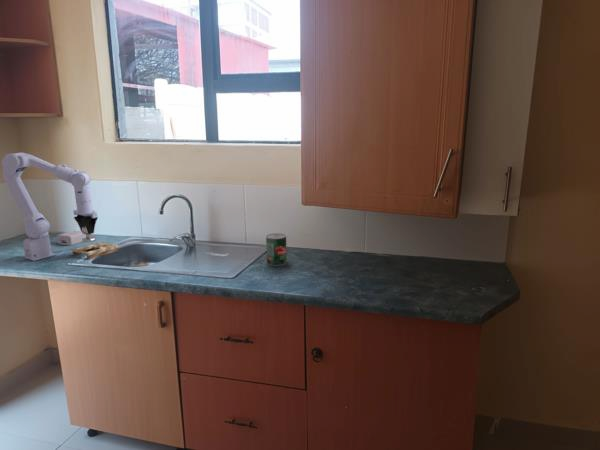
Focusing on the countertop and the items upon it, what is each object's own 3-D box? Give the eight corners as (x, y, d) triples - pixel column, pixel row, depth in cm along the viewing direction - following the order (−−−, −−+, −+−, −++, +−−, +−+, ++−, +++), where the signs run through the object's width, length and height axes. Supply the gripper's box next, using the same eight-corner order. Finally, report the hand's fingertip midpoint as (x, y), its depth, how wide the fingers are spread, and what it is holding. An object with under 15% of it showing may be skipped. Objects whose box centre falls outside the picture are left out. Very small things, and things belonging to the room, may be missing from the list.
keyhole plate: (88, 259, 184) (88, 253, 183) (72, 254, 190) (72, 249, 190) (118, 250, 195) (118, 245, 194) (102, 247, 201) (102, 241, 201)
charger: (97, 238, 218) (71, 246, 205) (84, 236, 222) (57, 244, 208) (96, 228, 217) (70, 236, 204) (82, 227, 220) (56, 234, 207)
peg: (86, 242, 186) (85, 228, 184) (79, 240, 188) (78, 227, 187) (98, 239, 190) (96, 226, 188) (91, 238, 193) (89, 224, 191)
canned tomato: (284, 266, 170) (283, 238, 167) (264, 265, 171) (263, 238, 169) (288, 260, 177) (288, 233, 175) (269, 259, 179) (269, 233, 176)
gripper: (102, 201, 184) (106, 232, 187) (82, 198, 192) (87, 228, 195) (86, 204, 179) (90, 236, 182) (67, 201, 187) (71, 232, 190)
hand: (87, 232), depth 188 cm, fingers closed on peg, 4 cm apart
